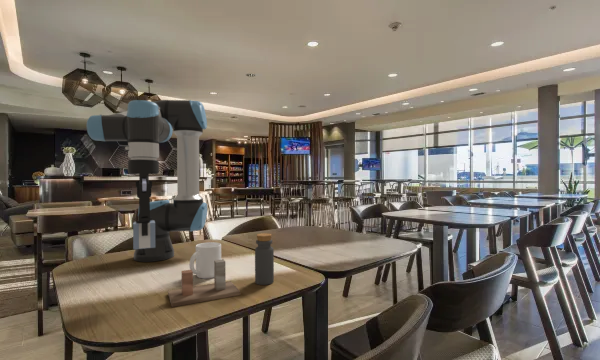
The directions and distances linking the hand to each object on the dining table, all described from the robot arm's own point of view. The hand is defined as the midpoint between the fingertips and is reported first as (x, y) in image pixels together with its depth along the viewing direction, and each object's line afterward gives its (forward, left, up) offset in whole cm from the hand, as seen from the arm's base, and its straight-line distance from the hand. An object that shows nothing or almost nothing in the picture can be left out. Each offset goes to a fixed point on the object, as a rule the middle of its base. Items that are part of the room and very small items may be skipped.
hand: (144, 245), depth 87 cm
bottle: (+1, +34, -15) cm, 37 cm away
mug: (-13, +18, -15) cm, 27 cm away
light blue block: (0, 0, 0) cm, 0 cm away
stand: (+3, +15, -15) cm, 21 cm away
